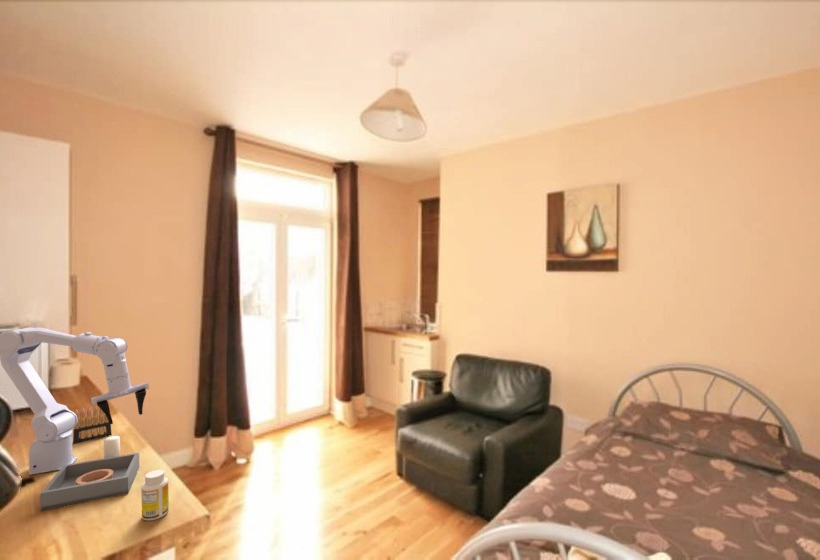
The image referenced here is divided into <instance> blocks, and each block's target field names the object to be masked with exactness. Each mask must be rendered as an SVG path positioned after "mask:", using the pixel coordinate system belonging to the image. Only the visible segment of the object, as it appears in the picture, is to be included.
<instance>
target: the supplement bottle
mask: <svg viewBox="0 0 820 560" xmlns="http://www.w3.org/2000/svg"><path fill="white" fill-rule="evenodd" d="M140 489H141V490H140V491H141V492H140V493H141V518H142V519H143V520H144V521H155V520H158V519H161V518H162V517H164V516H165V515H167V513H168V512H169V509H170V502H169V479H168V477H167V476H165V470H164V469H163V470H162V469H156V470H152V471H149V472H147V473H146V474H145V476H144V482H142V484H141V487H140Z"/></svg>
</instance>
